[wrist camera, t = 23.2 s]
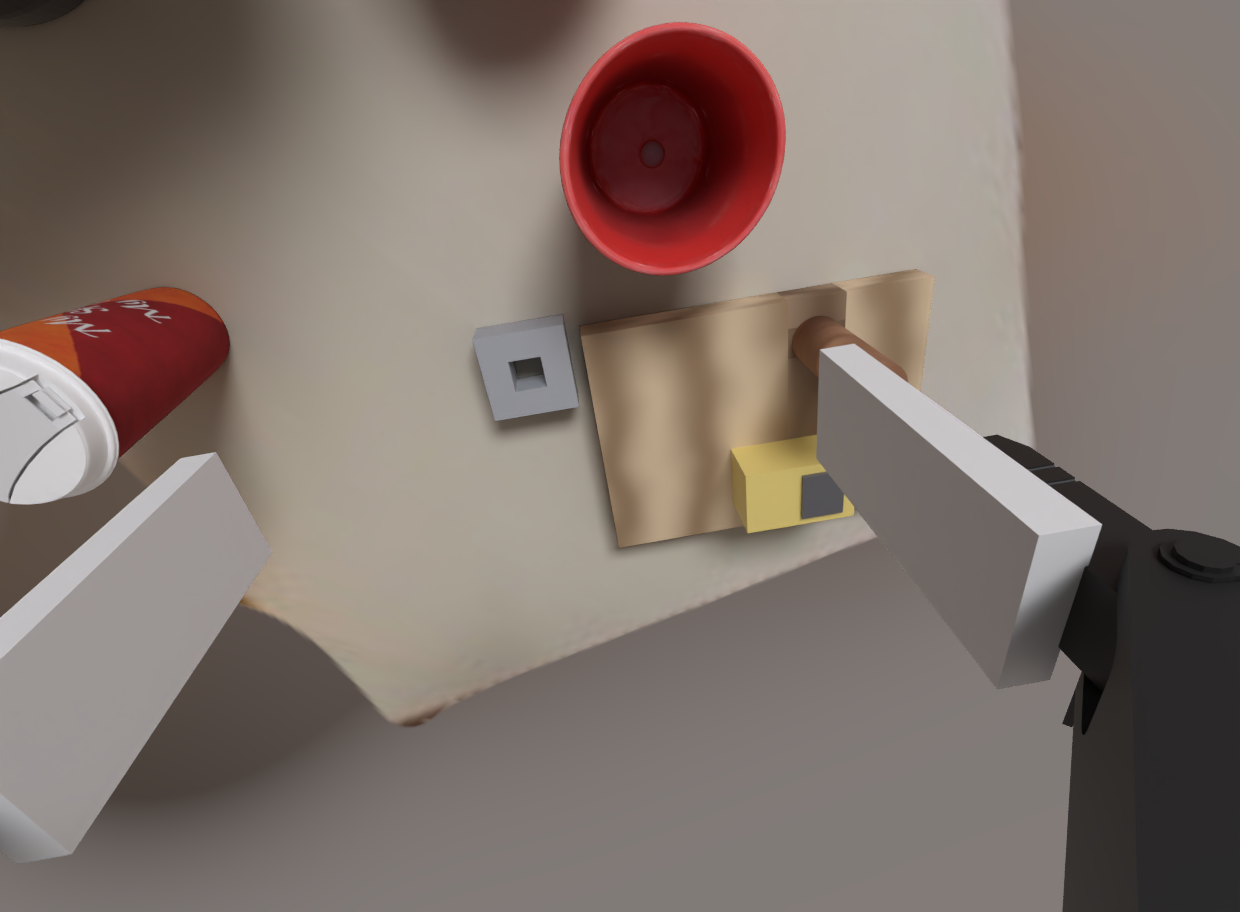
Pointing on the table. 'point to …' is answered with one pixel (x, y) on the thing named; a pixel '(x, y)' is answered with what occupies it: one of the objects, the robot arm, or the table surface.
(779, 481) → the block
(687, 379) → the subfloor panel
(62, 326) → the coffee cup
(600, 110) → the flower pot
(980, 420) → the table surface
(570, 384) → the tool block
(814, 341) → the brown rounded cylinder
